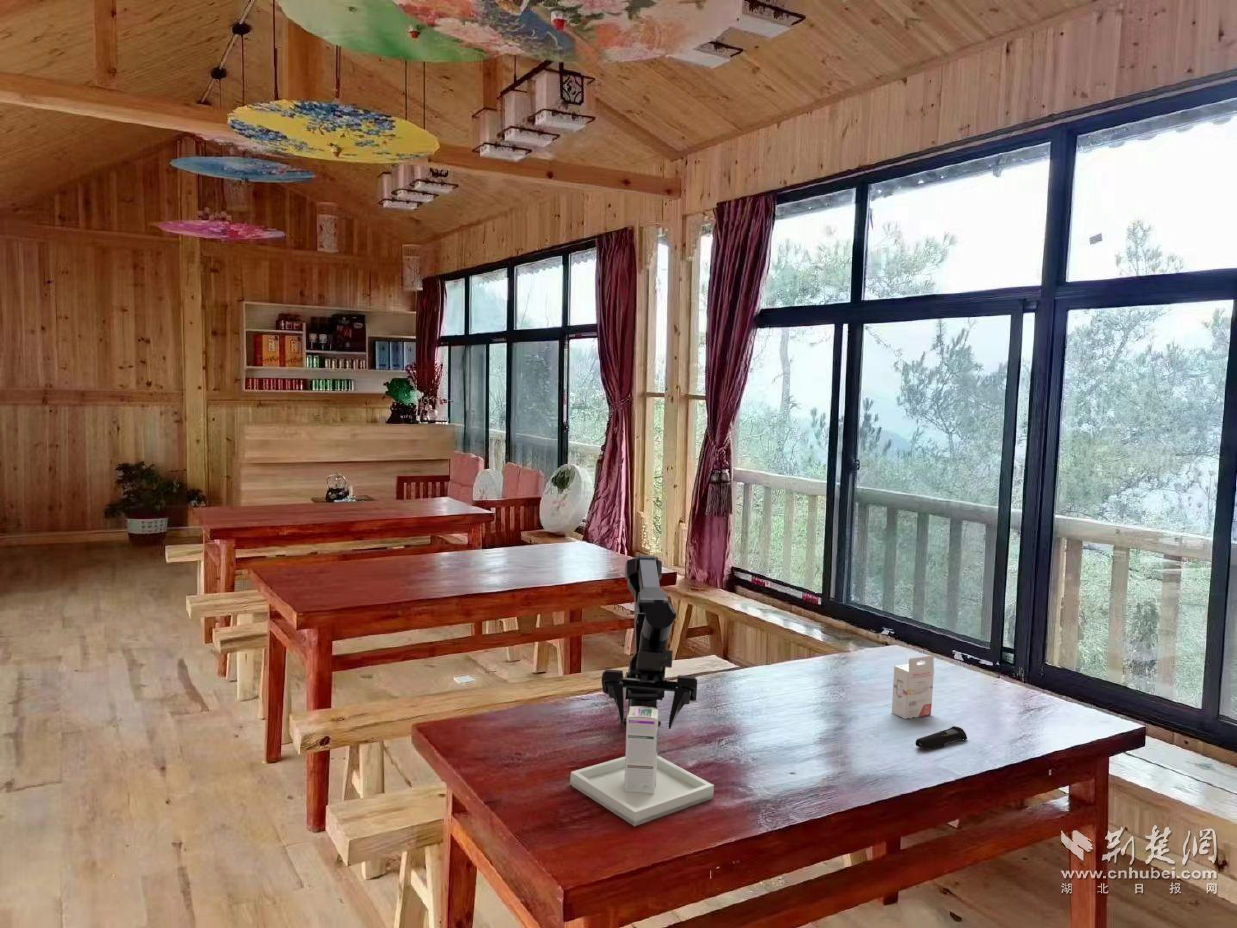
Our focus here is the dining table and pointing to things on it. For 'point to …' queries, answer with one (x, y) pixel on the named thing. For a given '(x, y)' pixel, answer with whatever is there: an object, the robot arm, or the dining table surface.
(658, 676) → the robot arm
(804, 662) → the dining table surface
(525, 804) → the dining table surface
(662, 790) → the tray
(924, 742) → the electric trimmer
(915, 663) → the ink cartridge box
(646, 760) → the syrup box
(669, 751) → the dining table surface
